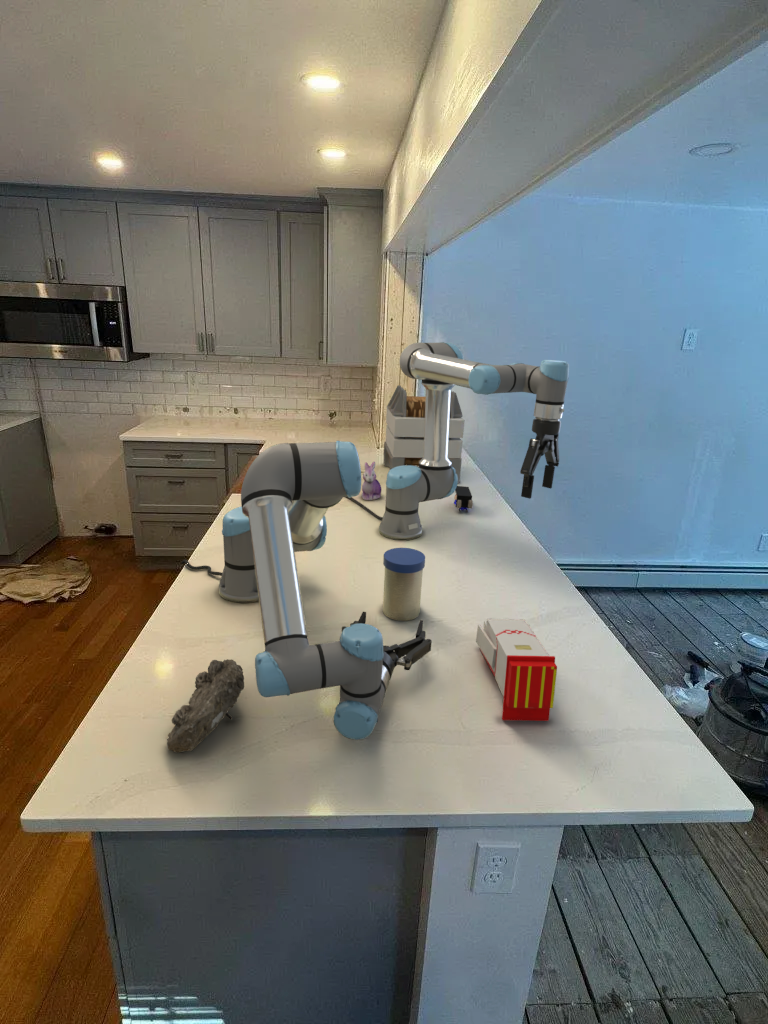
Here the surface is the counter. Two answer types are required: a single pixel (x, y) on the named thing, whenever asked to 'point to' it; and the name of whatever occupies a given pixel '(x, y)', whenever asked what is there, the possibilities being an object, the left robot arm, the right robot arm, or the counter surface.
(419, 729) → the counter surface
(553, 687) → the toy
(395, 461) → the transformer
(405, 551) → the lid
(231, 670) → the fossil
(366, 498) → the figurine
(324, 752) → the counter surface
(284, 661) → the left robot arm
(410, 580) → the jar
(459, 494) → the figurine character
